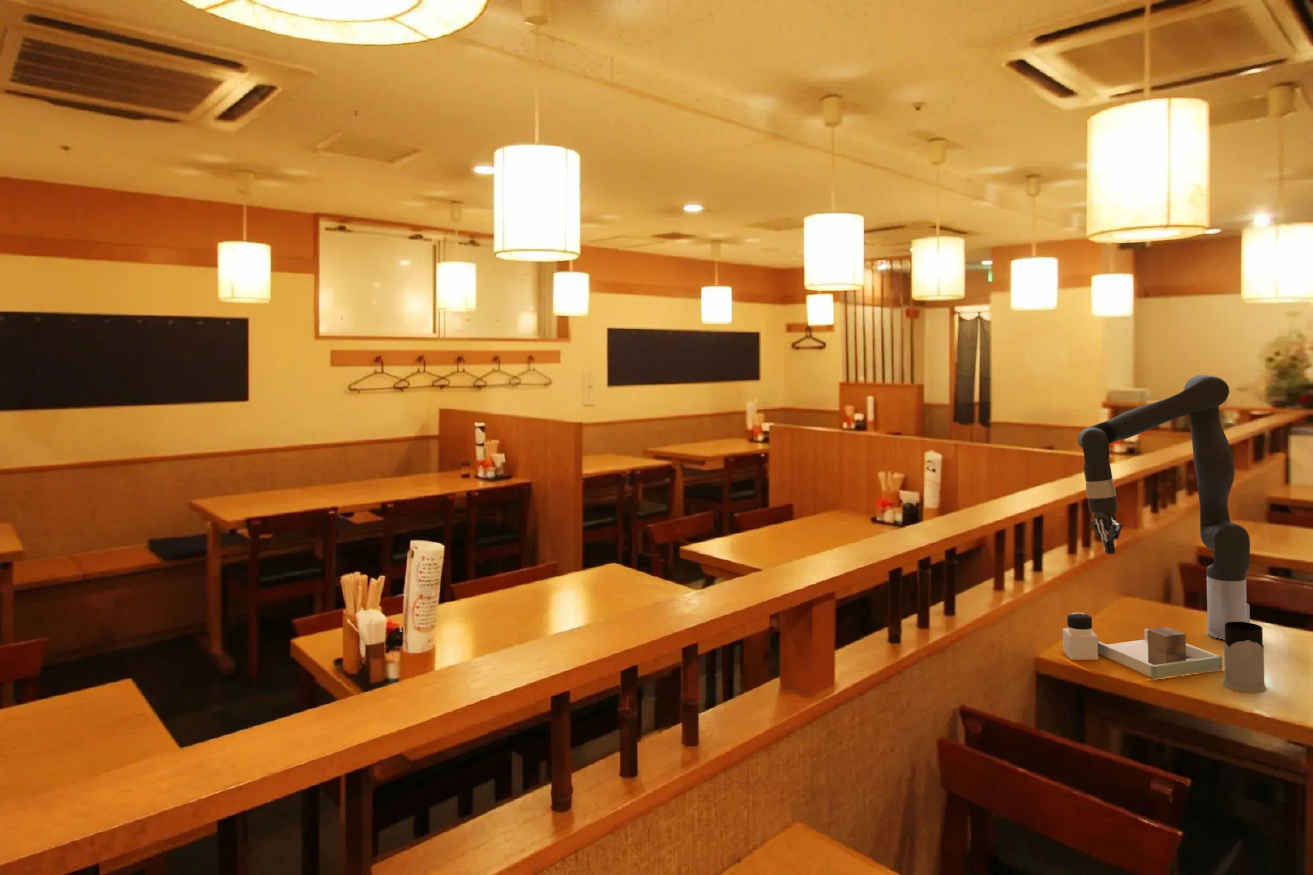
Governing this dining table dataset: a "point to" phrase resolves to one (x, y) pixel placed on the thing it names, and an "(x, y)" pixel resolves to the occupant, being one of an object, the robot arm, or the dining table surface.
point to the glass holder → (1244, 657)
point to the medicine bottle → (1080, 638)
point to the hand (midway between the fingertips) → (1110, 553)
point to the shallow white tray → (1137, 659)
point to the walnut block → (1166, 646)
